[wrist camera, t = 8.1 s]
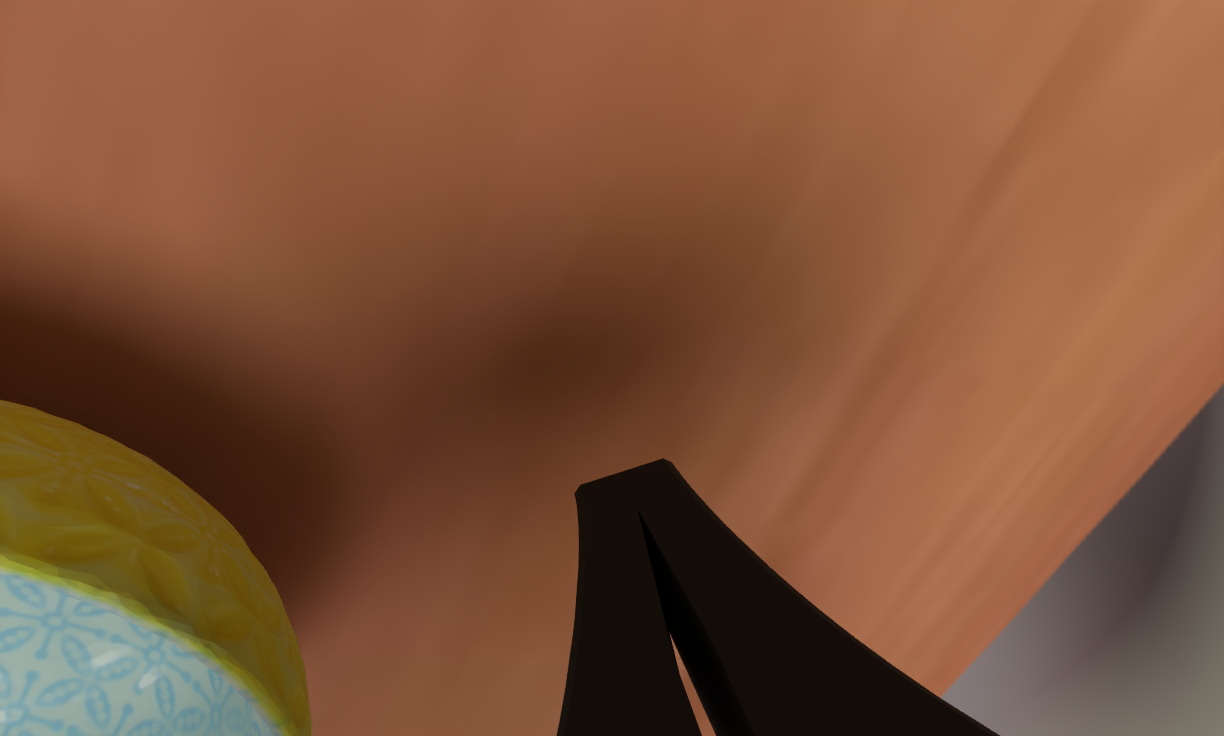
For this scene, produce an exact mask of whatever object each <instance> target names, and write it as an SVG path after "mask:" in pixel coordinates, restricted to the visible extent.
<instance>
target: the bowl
mask: <svg viewBox="0 0 1224 736" xmlns="http://www.w3.org/2000/svg"><path fill="white" fill-rule="evenodd" d="M0 736H312V719H311V714H310V710H309V701H308V693H307V681H306V672H305V667H304V663H303V659H302V656H301V653H300V648H299V644H298V641H297V637H296V634H295V632H294V630H293V628H292V626H291V624H290V621H289V619H288V616H287V614H286V611H285V608H284V605H283V602H282V600H281V598H280V596H279V593H278V591H277V589H276V587H275V586H274V584H273V582H272V581H271V579H270V578H269V576H268V574H267V572H266V570H265V569H264V567H263V566H262V564H261V563H260V562H259V561H258V560H257V559H256V557H255V556H254V555H253V554H252V552H251V551H250V549H249V547H248V546H247V544H246V542H245V541H244V539H243V537H242V536H241V535H240V534H239V533H238V532H237V530H236V529H235V528H234V527H233V526H232V525H231V523H230V522H229V521H228V520H227V519H226V518H225V517H224V516H222V515H221V514H220V513H219V512H218V511H217V510H216V509H215V508H214V507H213V506H211V505H210V504H209V503H208V502H207V501H206V500H204V499H203V498H202V497H201V496H200V495H198V494H197V493H196V492H195V491H193V490H192V489H191V488H190V487H188V486H187V485H186V484H184V483H183V482H182V481H181V480H180V479H179V478H177V477H176V476H174V475H173V474H171V473H170V472H168V471H167V470H166V469H164V468H163V467H161V466H160V465H158V464H157V463H155V462H154V461H153V460H151V459H150V458H148V457H147V456H144V455H142V454H140V453H138V452H136V451H134V450H132V449H130V448H128V447H127V446H125V445H123V444H121V443H119V442H117V441H115V440H113V439H111V438H109V437H107V436H105V435H103V434H100V433H98V432H95V431H93V430H91V429H88V428H86V427H84V426H82V425H81V424H78V423H75V422H72V421H69V420H66V419H63V418H60V417H57V416H54V415H51V414H48V413H45V412H43V411H40V410H38V409H36V408H32V407H28V406H24V405H20V404H16V403H12V402H8V401H4V400H0Z"/></svg>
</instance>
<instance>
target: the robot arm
mask: <svg viewBox="0 0 1224 736" xmlns="http://www.w3.org/2000/svg"><path fill="white" fill-rule="evenodd" d="M575 498H576V504H577V512H578V525H579V566H578V582H577V595H576V609H575V621H574V630H573V638H572V645H571V652H570V659H569V666H568V673H567V680H566V688H565V694H564V700H563V705H562V711H561V716H560V722H559V727H558V732H557V736H702V735H701V732H700V729H699V726H698V724H697V721H696V718H695V715H694V713H693V710H692V707H691V704H690V702H689V699H688V696H687V693H686V691H685V688H684V685H683V682H682V680H681V677H680V674H679V670H678V666H677V662H676V658H675V653H674V649H673V645H672V641H671V637H672V639H673V641H674V643H675V646H676V648H677V650H678V652H679V654H680V657H681V659H682V661H683V663H684V666H685V668H686V670H687V672H688V674H689V677H690V679H691V681H692V683H693V686H694V688H695V690H696V692H697V694H698V697H699V699H700V701H701V703H702V705H703V708H704V710H705V712H706V714H707V716H708V719H709V721H710V723H711V725H712V727H713V730H714V732H715V734H716V736H1000V735H998V734H997V733H995V732H993V731H992V730H990V729H989V728H987V727H985V726H984V725H982V724H980V723H979V722H977V721H976V720H974V719H973V718H971V717H969V716H968V715H966V714H965V713H963V712H961V711H960V710H958V709H957V708H955V707H953V706H952V705H950V704H949V703H947V702H946V701H944V700H942V699H941V698H939V697H938V696H936V695H935V694H933V693H932V692H930V691H929V690H928V689H926V688H925V687H923V686H922V685H920V684H919V683H917V682H916V681H915V680H913V679H912V678H910V677H909V676H907V675H906V674H904V673H903V672H902V671H900V670H899V669H897V668H896V667H894V666H893V665H891V664H890V663H889V662H887V661H886V660H885V659H883V658H882V657H881V656H879V655H878V654H876V653H875V652H874V651H872V650H871V649H870V648H868V647H867V646H866V645H864V644H863V643H861V642H860V641H859V640H857V639H856V638H855V637H853V636H852V635H851V634H850V633H848V632H847V631H846V630H844V629H843V628H842V627H841V626H839V625H838V624H837V623H835V622H834V621H833V620H832V619H830V618H829V617H828V616H827V615H825V614H824V613H823V612H822V611H820V610H819V609H818V608H817V607H816V606H814V605H813V604H812V603H811V602H810V601H808V600H807V599H806V598H805V597H804V596H803V595H801V594H800V593H799V592H798V591H797V590H795V589H794V588H793V587H792V586H791V585H789V584H788V583H787V582H786V581H785V580H784V579H783V578H782V577H780V576H779V575H778V574H777V573H776V572H775V571H774V570H773V569H771V568H770V567H769V566H768V565H767V564H766V563H765V562H764V561H763V560H762V559H761V558H760V557H759V556H757V555H756V554H755V553H754V552H753V551H752V550H751V549H750V548H749V547H748V546H747V545H746V544H745V543H744V542H743V541H742V540H741V539H739V538H738V537H737V536H736V535H735V534H734V533H733V532H732V531H731V530H730V529H729V528H728V527H727V526H726V525H725V524H724V523H723V522H722V521H721V520H720V519H719V517H718V516H717V515H716V514H715V513H714V512H713V511H712V510H711V509H710V508H709V507H708V506H707V505H706V504H705V503H704V501H703V500H702V499H701V498H700V497H699V496H698V495H697V494H696V492H695V491H694V490H693V489H692V488H691V487H690V485H689V484H688V483H687V482H686V481H685V479H684V478H683V477H682V476H681V474H680V473H679V472H678V470H677V469H676V468H675V466H674V465H673V463H672V462H670V461H667V460H665V459H660V460H657V461H654V462H651V463H648V464H645V465H641V466H638V467H635V468H632V469H629V470H626V471H623V472H619V473H616V474H613V475H610V476H607V477H604V478H601V479H598V480H594V481H591V482H588V483H585V484H582V485H580V486H579V488H578V489H577V491H576V492H575ZM669 632H670V633H669ZM670 634H671V637H670Z"/></svg>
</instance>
